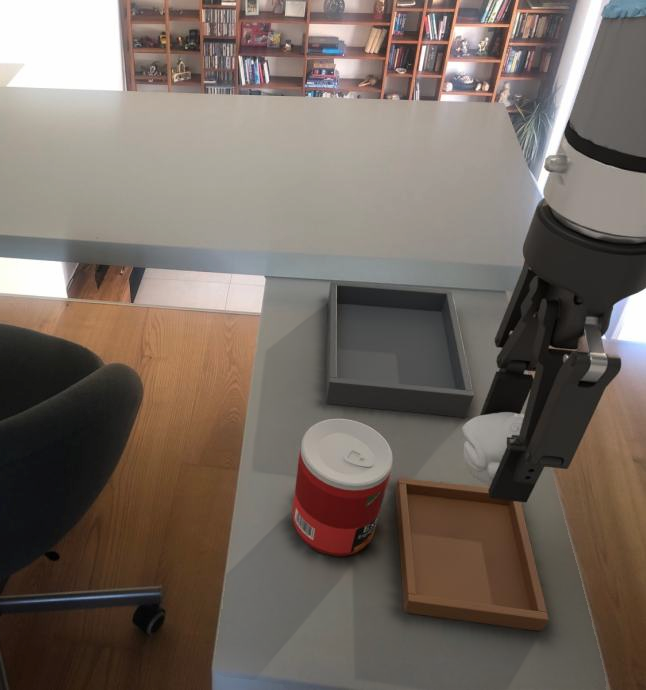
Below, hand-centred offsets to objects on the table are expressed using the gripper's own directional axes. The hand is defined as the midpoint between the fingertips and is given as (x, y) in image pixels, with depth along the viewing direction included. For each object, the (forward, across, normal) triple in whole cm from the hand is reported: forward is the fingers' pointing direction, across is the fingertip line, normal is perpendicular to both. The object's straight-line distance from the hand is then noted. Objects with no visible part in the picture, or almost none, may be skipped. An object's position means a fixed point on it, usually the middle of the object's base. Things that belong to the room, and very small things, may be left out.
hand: (499, 462), depth 56 cm
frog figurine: (+2, 0, 0) cm, 2 cm away
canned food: (+13, -2, -12) cm, 18 cm away
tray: (+13, 0, 0) cm, 13 cm away
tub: (+13, -28, -5) cm, 31 cm away
